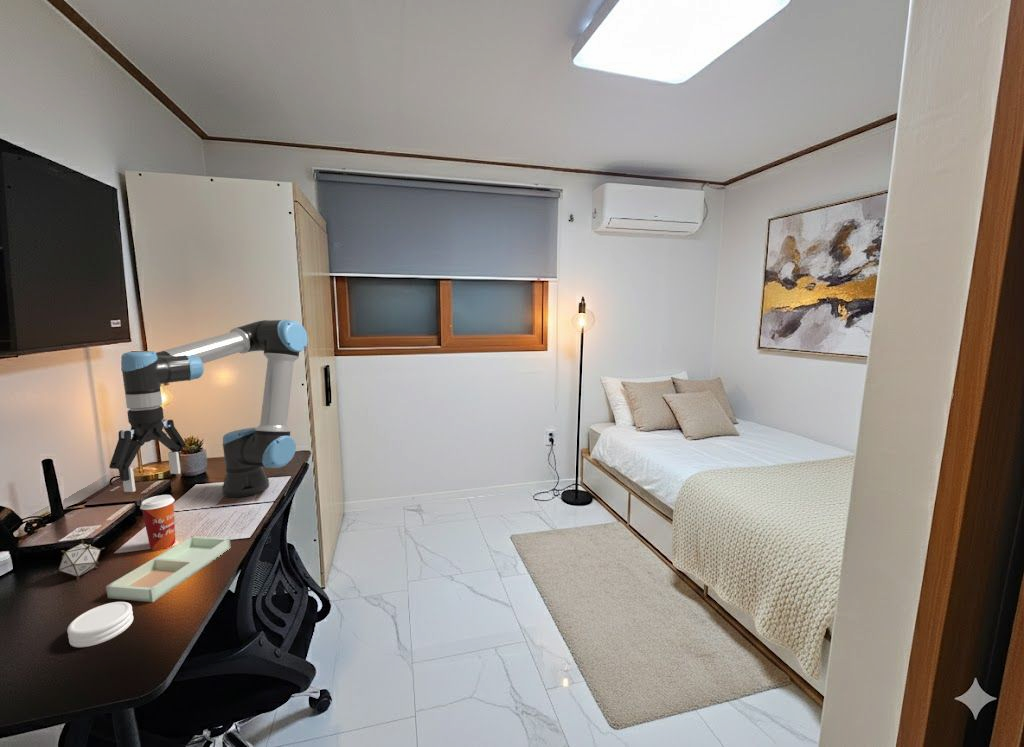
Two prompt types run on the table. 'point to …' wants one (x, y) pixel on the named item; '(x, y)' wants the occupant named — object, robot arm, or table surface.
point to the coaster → (100, 624)
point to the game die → (79, 560)
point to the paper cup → (159, 521)
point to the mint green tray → (168, 569)
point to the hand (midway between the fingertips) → (154, 481)
